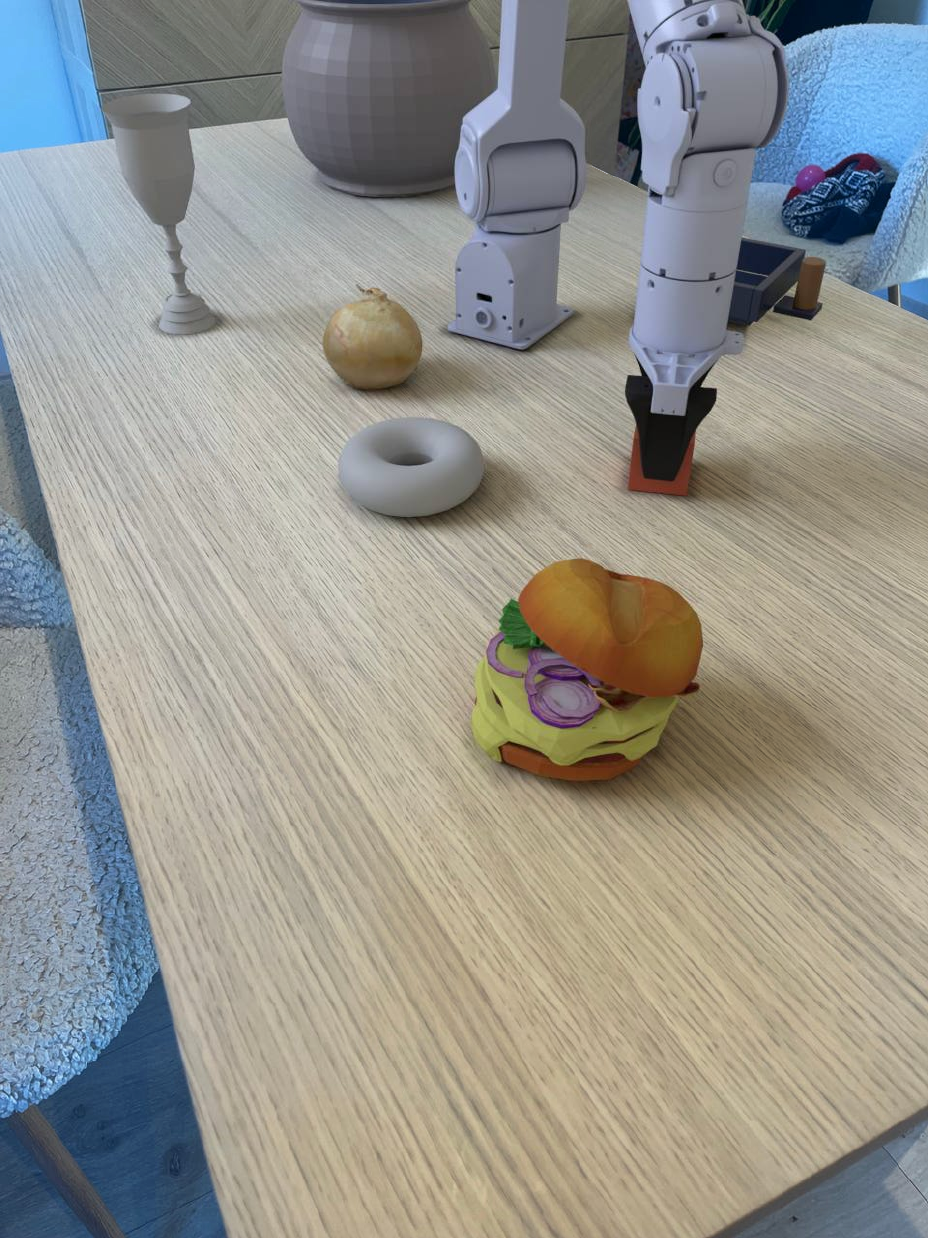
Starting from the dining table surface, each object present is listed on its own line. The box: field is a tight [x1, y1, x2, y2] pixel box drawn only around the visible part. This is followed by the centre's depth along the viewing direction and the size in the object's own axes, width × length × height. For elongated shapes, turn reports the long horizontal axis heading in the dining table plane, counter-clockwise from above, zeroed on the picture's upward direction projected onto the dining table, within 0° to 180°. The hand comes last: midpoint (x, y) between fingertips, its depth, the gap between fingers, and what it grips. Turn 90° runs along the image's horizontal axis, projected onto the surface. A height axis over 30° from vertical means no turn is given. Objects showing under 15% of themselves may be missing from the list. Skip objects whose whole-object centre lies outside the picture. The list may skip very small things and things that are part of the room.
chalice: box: [101, 93, 217, 335], centre depth 86 cm, size 7×7×18 cm
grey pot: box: [281, 0, 497, 198], centre depth 119 cm, size 25×25×20 cm
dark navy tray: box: [727, 237, 827, 327], centre depth 91 cm, size 12×14×5 cm
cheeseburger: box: [470, 557, 704, 782], centre depth 50 cm, size 10×11×10 cm
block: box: [627, 424, 697, 497], centre depth 69 cm, size 4×4×4 cm
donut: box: [337, 416, 486, 518], centre depth 69 cm, size 10×4×10 cm
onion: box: [321, 283, 424, 391], centre depth 80 cm, size 8×8×7 cm
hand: (661, 460), depth 70 cm, fingers closed on block, 4 cm apart
